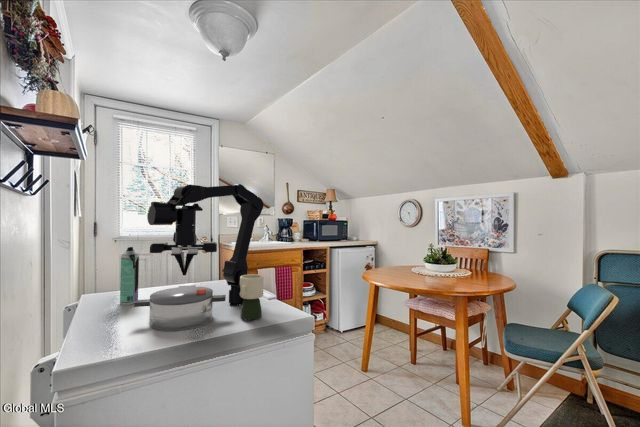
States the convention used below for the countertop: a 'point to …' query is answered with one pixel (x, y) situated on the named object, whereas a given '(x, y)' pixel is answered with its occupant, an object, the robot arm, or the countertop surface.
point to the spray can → (129, 277)
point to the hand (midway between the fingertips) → (184, 275)
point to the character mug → (251, 295)
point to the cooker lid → (181, 295)
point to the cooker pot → (180, 314)
